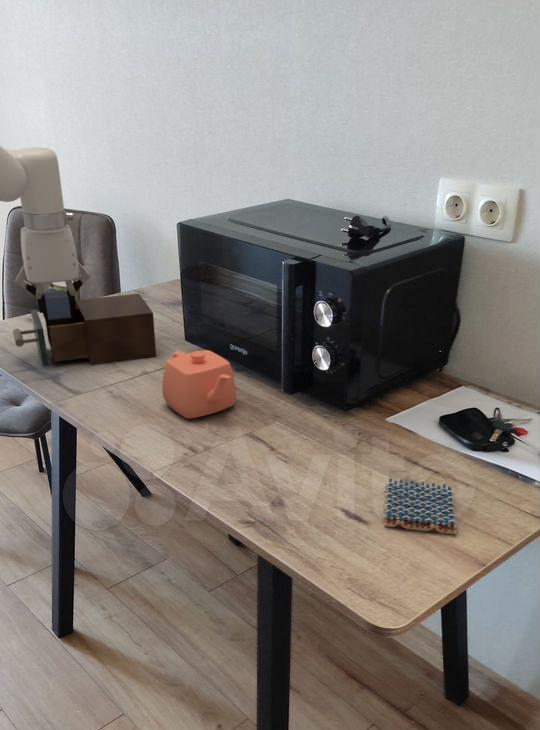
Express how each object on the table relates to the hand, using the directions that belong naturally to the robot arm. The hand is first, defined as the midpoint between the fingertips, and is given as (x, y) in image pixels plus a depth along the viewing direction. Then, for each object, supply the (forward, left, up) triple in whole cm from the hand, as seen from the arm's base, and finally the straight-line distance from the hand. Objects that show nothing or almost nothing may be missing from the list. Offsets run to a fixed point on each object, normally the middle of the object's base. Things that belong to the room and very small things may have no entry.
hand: (58, 313), depth 142 cm
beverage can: (+2, +13, -9) cm, 16 cm away
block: (0, 0, 0) cm, 0 cm away
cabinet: (+11, 0, -9) cm, 15 cm away
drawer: (-1, 0, -8) cm, 8 cm away
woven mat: (+40, -74, -9) cm, 85 cm away
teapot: (+20, -32, -9) cm, 39 cm away
